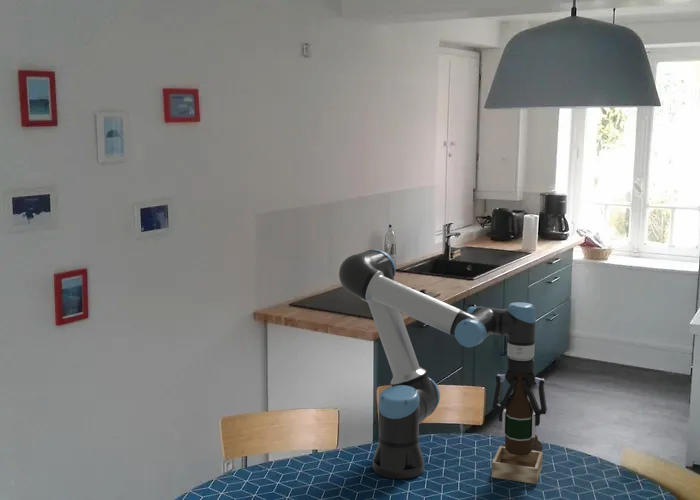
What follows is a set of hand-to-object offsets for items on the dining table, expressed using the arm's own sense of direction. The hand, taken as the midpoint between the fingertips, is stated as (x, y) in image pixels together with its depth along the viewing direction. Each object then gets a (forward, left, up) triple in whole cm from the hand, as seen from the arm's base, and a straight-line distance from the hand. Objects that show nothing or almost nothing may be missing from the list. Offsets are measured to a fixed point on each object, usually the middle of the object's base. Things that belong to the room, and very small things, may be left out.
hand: (518, 434), depth 215 cm
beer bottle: (0, 0, -5) cm, 5 cm away
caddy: (0, 0, -11) cm, 11 cm away
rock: (-1, +15, -12) cm, 19 cm away
